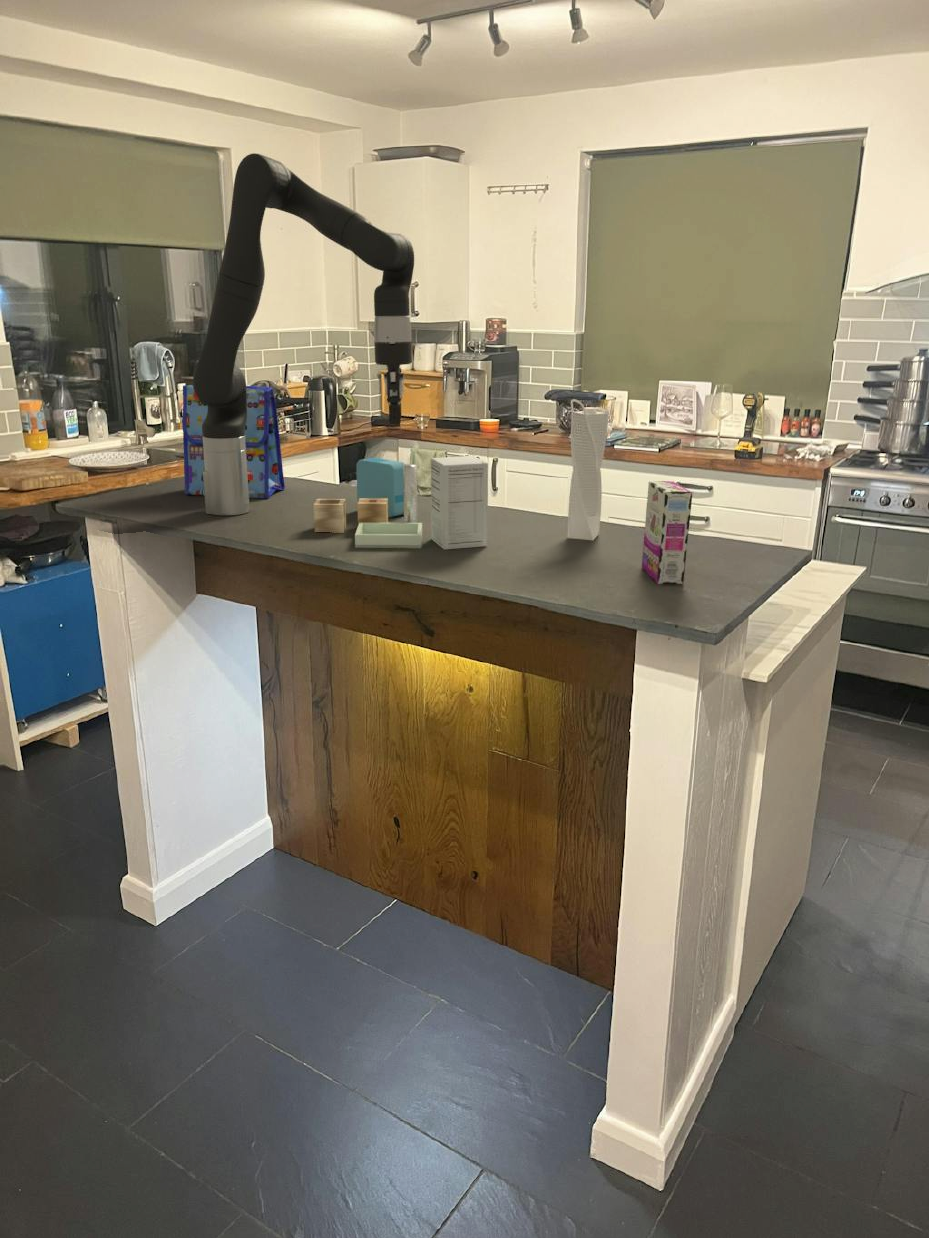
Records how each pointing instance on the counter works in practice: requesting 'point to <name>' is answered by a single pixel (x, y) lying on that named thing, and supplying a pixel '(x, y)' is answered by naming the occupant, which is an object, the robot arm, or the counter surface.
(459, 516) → the supplement box
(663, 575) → the candy bar box
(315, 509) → the beech block wide bore
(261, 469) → the lunch bag
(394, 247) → the robot arm
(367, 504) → the oak block narrow bore
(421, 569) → the counter surface
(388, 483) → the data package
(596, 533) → the skyscraper
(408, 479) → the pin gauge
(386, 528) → the tray
